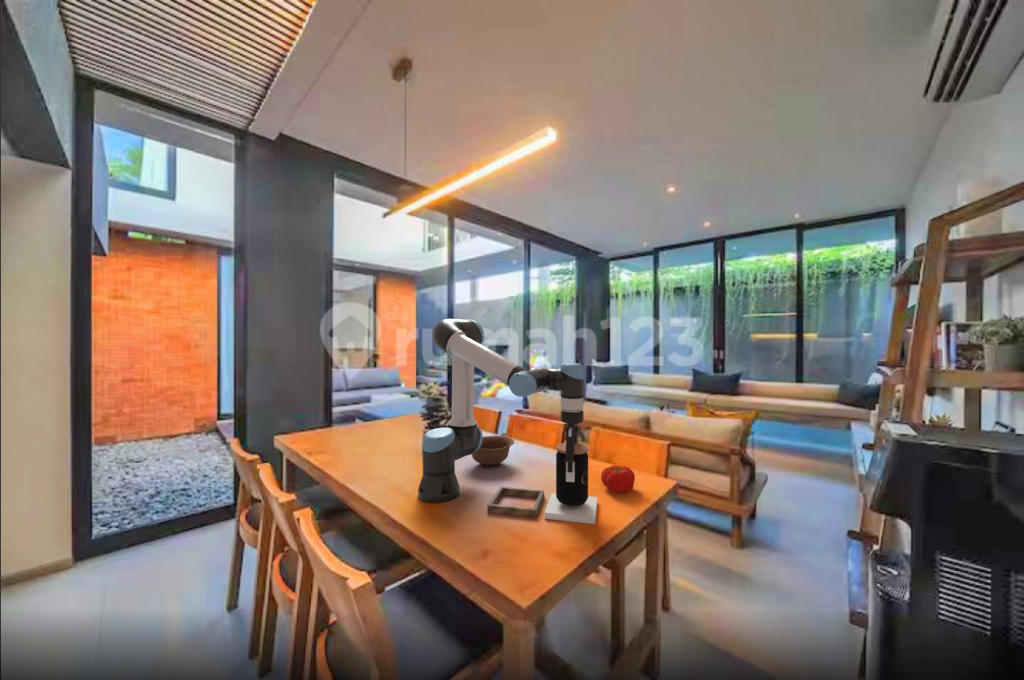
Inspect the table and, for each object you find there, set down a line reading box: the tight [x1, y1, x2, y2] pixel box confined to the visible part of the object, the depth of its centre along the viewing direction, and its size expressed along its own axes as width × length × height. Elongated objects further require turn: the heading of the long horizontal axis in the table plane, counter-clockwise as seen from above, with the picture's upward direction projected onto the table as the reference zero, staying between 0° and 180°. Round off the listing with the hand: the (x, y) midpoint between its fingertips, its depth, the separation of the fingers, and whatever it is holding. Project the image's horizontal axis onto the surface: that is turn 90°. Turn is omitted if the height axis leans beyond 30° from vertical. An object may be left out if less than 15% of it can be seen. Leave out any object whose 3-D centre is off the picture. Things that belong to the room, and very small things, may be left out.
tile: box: [544, 492, 598, 525], centre depth 139 cm, size 16×16×2 cm
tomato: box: [600, 465, 636, 494], centre depth 155 cm, size 14×13×9 cm
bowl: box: [471, 435, 515, 469], centre depth 184 cm, size 22×22×11 cm
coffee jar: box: [555, 442, 589, 506], centre depth 138 cm, size 11×11×18 cm
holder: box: [486, 485, 545, 519], centre depth 143 cm, size 16×16×2 cm
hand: (572, 475), depth 138 cm, fingers closed on coffee jar, 11 cm apart
